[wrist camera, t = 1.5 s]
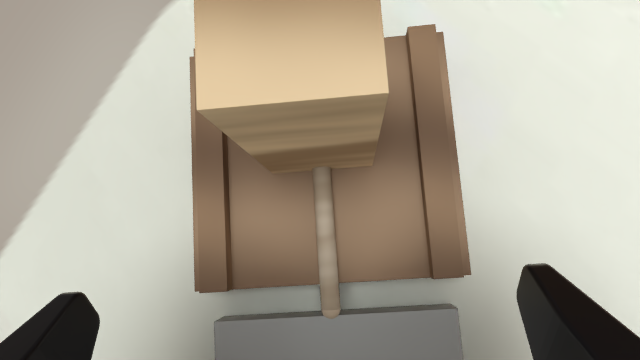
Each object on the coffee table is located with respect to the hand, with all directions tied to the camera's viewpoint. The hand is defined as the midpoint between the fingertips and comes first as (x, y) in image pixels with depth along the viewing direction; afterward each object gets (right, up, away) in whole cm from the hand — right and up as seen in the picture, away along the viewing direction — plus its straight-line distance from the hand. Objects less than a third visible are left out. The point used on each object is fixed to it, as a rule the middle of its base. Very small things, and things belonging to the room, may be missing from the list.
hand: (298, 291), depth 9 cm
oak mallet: (+1, +2, +10) cm, 10 cm away
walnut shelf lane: (+1, +3, +13) cm, 13 cm away
